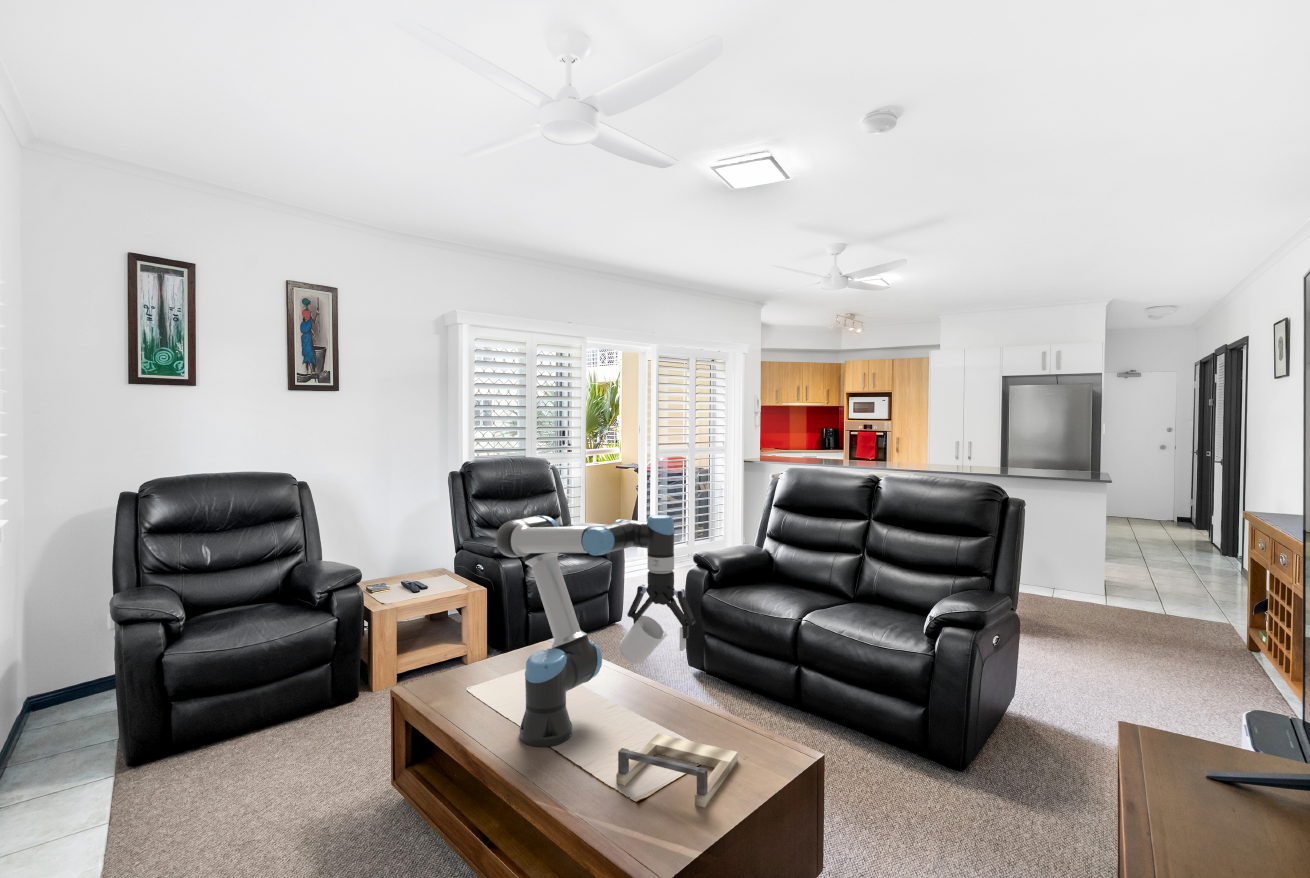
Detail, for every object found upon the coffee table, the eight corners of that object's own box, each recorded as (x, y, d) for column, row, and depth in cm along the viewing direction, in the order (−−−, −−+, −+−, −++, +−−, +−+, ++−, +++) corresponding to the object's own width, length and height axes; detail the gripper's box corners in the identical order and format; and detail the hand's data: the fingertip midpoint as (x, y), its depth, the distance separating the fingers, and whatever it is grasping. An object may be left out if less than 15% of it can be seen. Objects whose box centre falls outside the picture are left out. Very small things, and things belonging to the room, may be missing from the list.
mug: (625, 666, 180) (647, 638, 176) (612, 641, 186) (633, 614, 182) (655, 667, 187) (677, 641, 184) (642, 643, 194) (663, 617, 190)
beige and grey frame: (616, 783, 163) (616, 752, 163) (657, 742, 185) (657, 714, 185) (704, 807, 153) (704, 774, 153) (737, 761, 174) (737, 731, 174)
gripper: (615, 569, 184) (615, 643, 184) (696, 577, 173) (696, 656, 173) (628, 564, 190) (628, 635, 191) (706, 572, 179) (706, 648, 180)
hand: (660, 645), depth 182 cm, fingers open, 13 cm apart
